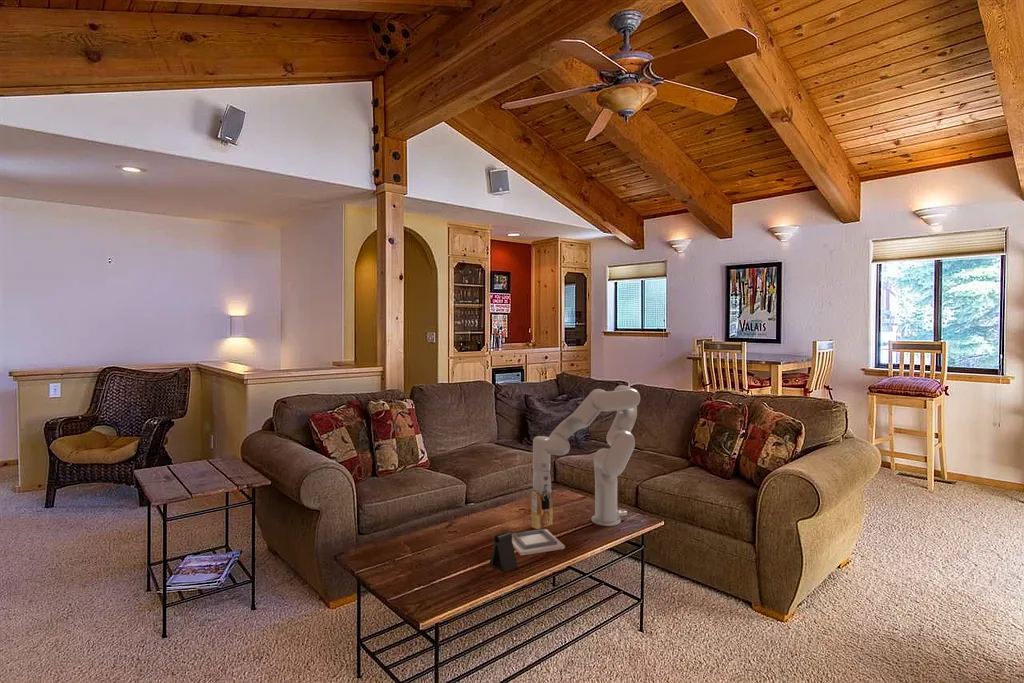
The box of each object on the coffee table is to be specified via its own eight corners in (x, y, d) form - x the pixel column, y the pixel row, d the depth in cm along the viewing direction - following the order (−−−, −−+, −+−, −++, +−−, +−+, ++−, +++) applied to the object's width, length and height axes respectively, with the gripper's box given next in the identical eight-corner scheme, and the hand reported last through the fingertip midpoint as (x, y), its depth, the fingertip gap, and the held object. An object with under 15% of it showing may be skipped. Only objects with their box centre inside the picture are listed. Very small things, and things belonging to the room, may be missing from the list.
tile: (546, 532, 244) (546, 526, 244) (564, 548, 227) (564, 542, 227) (505, 538, 238) (505, 532, 238) (521, 555, 221) (520, 549, 221)
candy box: (546, 522, 255) (546, 487, 254) (553, 524, 252) (552, 489, 251) (531, 527, 249) (530, 491, 249) (537, 529, 246) (537, 493, 245)
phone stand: (489, 564, 214) (488, 532, 213) (502, 559, 217) (501, 528, 217) (505, 572, 207) (504, 539, 206) (517, 567, 211) (517, 535, 210)
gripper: (557, 470, 242) (557, 511, 243) (541, 460, 258) (541, 498, 259) (541, 472, 240) (540, 513, 241) (525, 461, 256) (525, 500, 257)
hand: (540, 505), depth 250 cm, fingers open, 9 cm apart
